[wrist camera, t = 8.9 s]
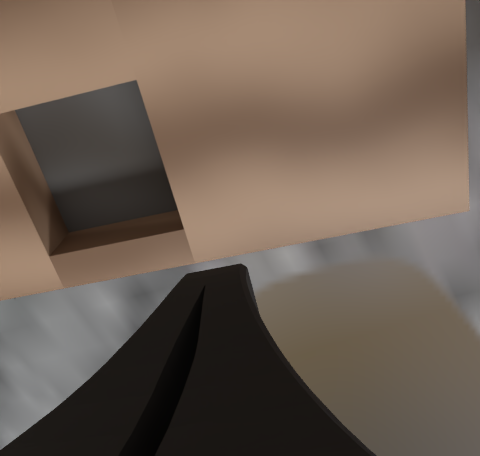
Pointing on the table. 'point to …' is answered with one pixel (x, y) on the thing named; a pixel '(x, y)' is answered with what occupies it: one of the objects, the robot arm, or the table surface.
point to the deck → (220, 129)
